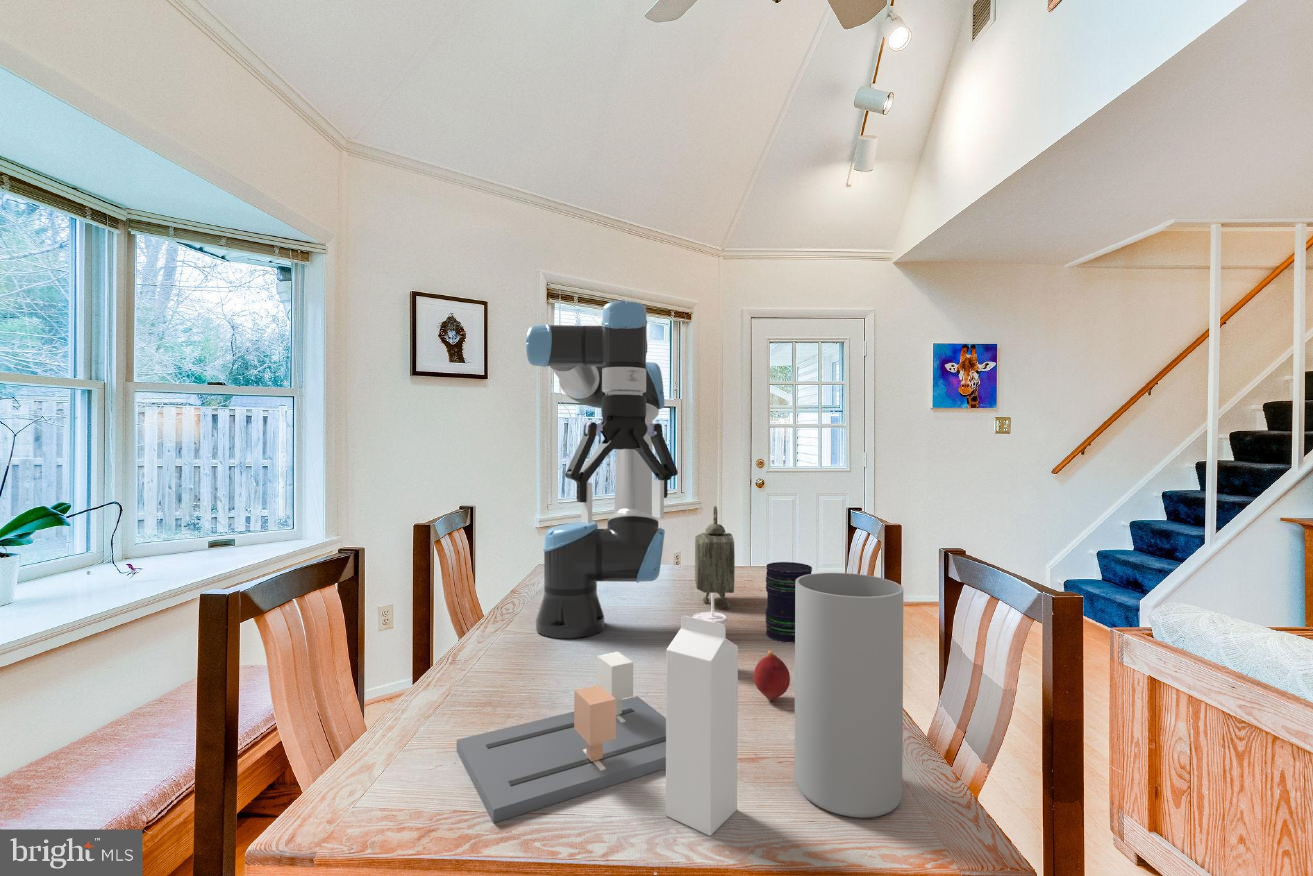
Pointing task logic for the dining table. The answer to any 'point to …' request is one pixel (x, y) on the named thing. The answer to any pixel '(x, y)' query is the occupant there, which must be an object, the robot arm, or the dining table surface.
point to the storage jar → (782, 599)
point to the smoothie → (711, 614)
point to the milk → (701, 725)
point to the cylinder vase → (849, 692)
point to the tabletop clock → (715, 561)
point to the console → (560, 759)
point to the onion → (771, 676)
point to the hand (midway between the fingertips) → (623, 519)
